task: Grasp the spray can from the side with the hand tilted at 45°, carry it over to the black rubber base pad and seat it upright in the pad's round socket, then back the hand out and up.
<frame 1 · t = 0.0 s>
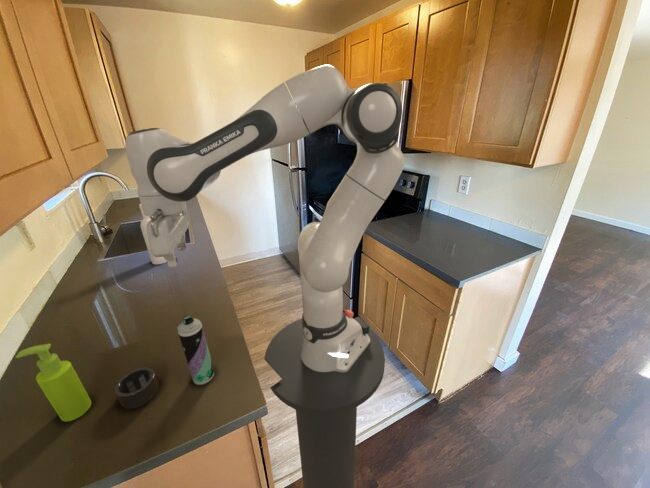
hand: (178, 257, 70), 32 cm above the worktop, tool pointing down, fingers open, 8 cm apart
soap dispenser: (74, 411, 67), on the worktop
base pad: (140, 393, 71), on the worktop
bottle: (160, 261, 140), on the worktop
spray can: (203, 376, 75), on the worktop
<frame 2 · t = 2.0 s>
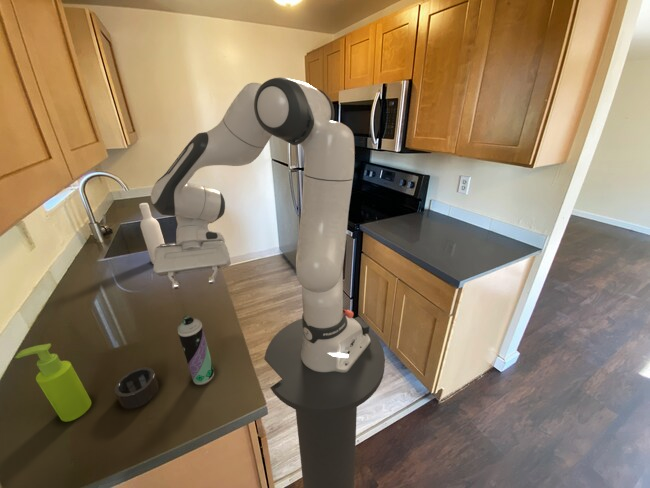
hand: (194, 285, 77), 21 cm above the worktop, tool tilted 45°, fingers open, 8 cm apart
nothing on the worktop moved.
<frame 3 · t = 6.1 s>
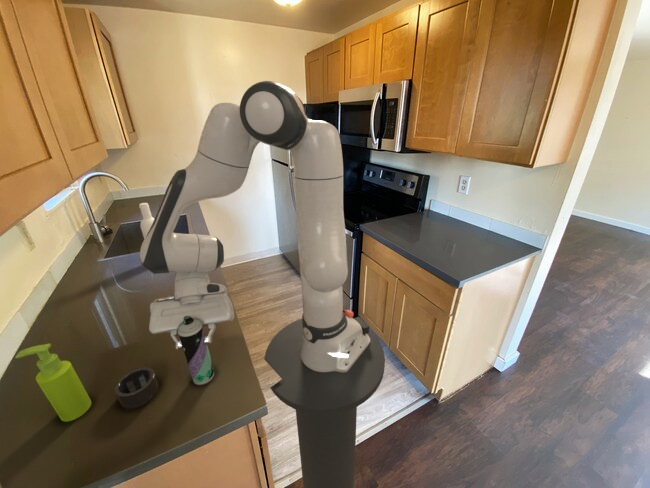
hand: (194, 346, 70), 11 cm above the worktop, tool tilted 45°, fingers closed on spray can, 5 cm apart
spray can: (204, 376, 75), on the worktop, touching gripper
everything else where it was.
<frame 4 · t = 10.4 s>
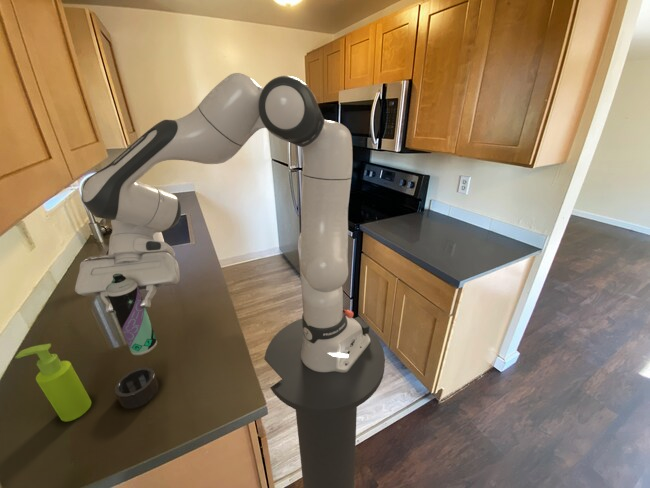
hand: (128, 309, 61), 26 cm above the worktop, tool tilted 45°, fingers closed on spray can, 5 cm apart
spray can: (144, 347, 66), point 14 cm above the worktop, touching gripper
everything else where it was.
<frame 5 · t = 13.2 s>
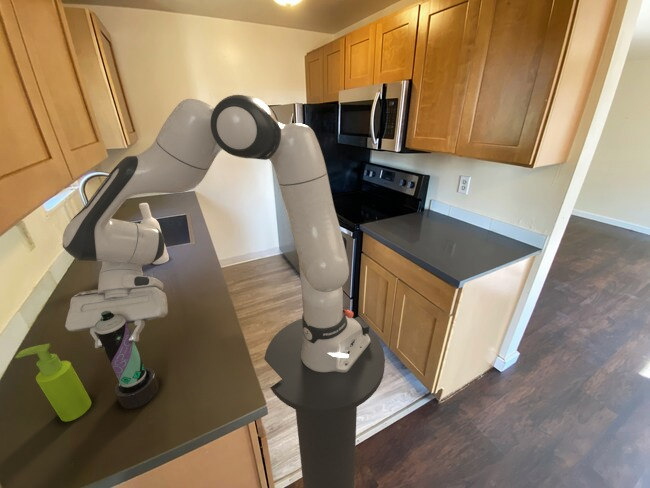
hand: (117, 344, 63), 17 cm above the worktop, tool tilted 45°, fingers closed on spray can, 5 cm apart
spray can: (133, 378, 69), point 5 cm above the worktop, touching gripper
everything else where it was.
when the fingers open (12 cm above the worktop, at t = 15.1 s): spray can stays where it is, resting on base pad.
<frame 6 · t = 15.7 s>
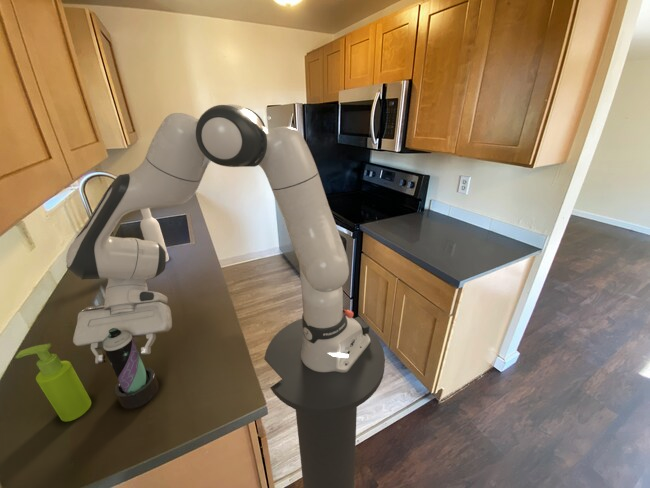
hand: (123, 358, 65), 13 cm above the worktop, tool tilted 45°, fingers open, 8 cm apart
spray can: (139, 391, 70), point 1 cm above the worktop, touching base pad
everything else where it was.
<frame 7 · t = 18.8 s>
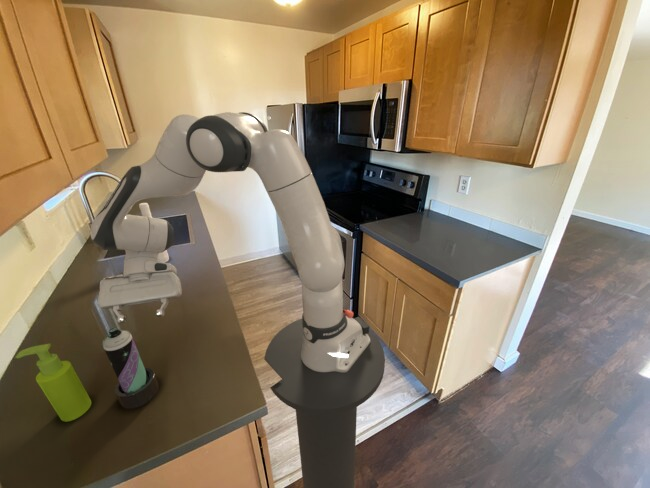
hand: (141, 319, 76), 14 cm above the worktop, tool tilted 45°, fingers open, 8 cm apart
nothing on the worktop moved.
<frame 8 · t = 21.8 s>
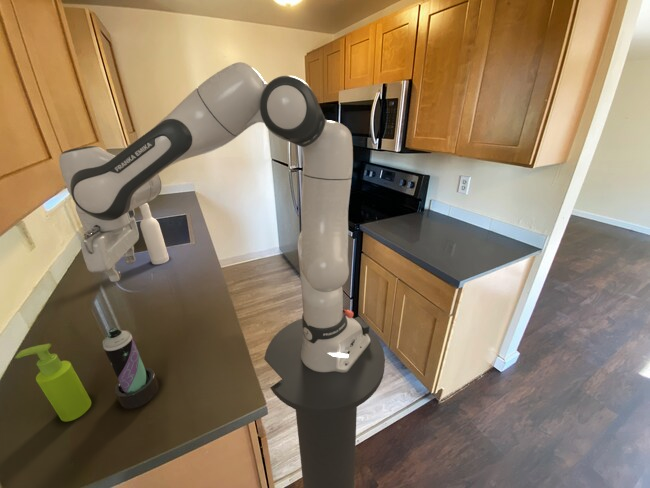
hand: (124, 270, 70), 29 cm above the worktop, tool pointing down, fingers open, 8 cm apart
nothing on the worktop moved.
at the end: spray can 0.0 cm off-centre in the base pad, point 0.6 cm above the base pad's base; spray can tilted 0°; the gripper is holding nothing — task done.
